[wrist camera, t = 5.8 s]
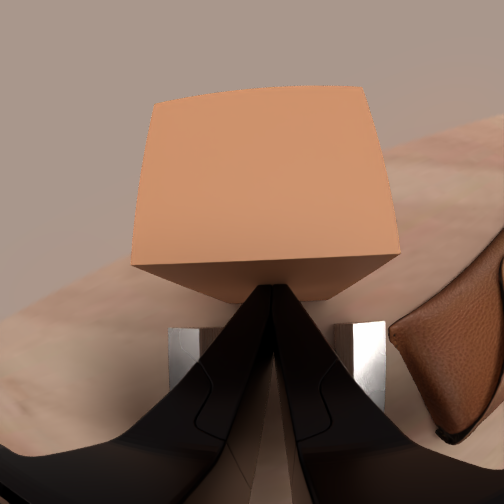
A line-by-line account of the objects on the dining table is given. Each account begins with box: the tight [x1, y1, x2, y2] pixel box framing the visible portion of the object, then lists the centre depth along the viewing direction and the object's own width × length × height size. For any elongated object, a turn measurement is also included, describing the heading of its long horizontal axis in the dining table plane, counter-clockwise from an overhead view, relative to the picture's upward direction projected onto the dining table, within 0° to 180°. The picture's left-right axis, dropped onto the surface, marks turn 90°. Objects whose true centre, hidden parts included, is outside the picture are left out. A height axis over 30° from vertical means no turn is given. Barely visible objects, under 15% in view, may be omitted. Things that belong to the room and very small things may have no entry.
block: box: [131, 86, 401, 303], centre depth 10 cm, size 4×5×10 cm
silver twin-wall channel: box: [168, 321, 386, 412], centre depth 11 cm, size 7×8×5 cm
